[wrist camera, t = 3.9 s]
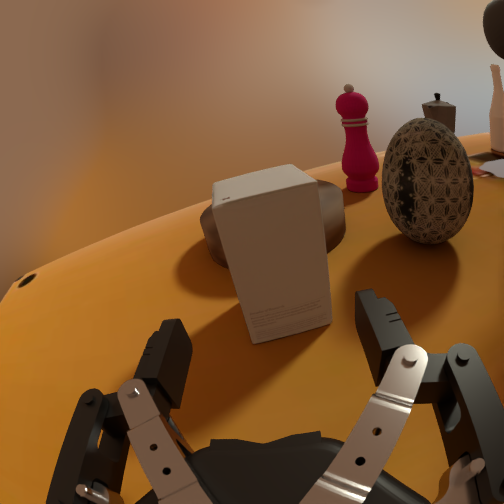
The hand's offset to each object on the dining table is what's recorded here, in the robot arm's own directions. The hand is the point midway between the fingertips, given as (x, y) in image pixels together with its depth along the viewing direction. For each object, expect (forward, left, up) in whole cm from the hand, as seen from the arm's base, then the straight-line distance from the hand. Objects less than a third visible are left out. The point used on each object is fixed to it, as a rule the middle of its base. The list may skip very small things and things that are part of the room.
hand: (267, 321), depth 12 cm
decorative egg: (0, -27, -9) cm, 29 cm away
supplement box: (+8, -8, -9) cm, 15 cm away
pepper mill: (+17, -42, -9) cm, 46 cm away
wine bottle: (-13, -102, -9) cm, 103 cm away
